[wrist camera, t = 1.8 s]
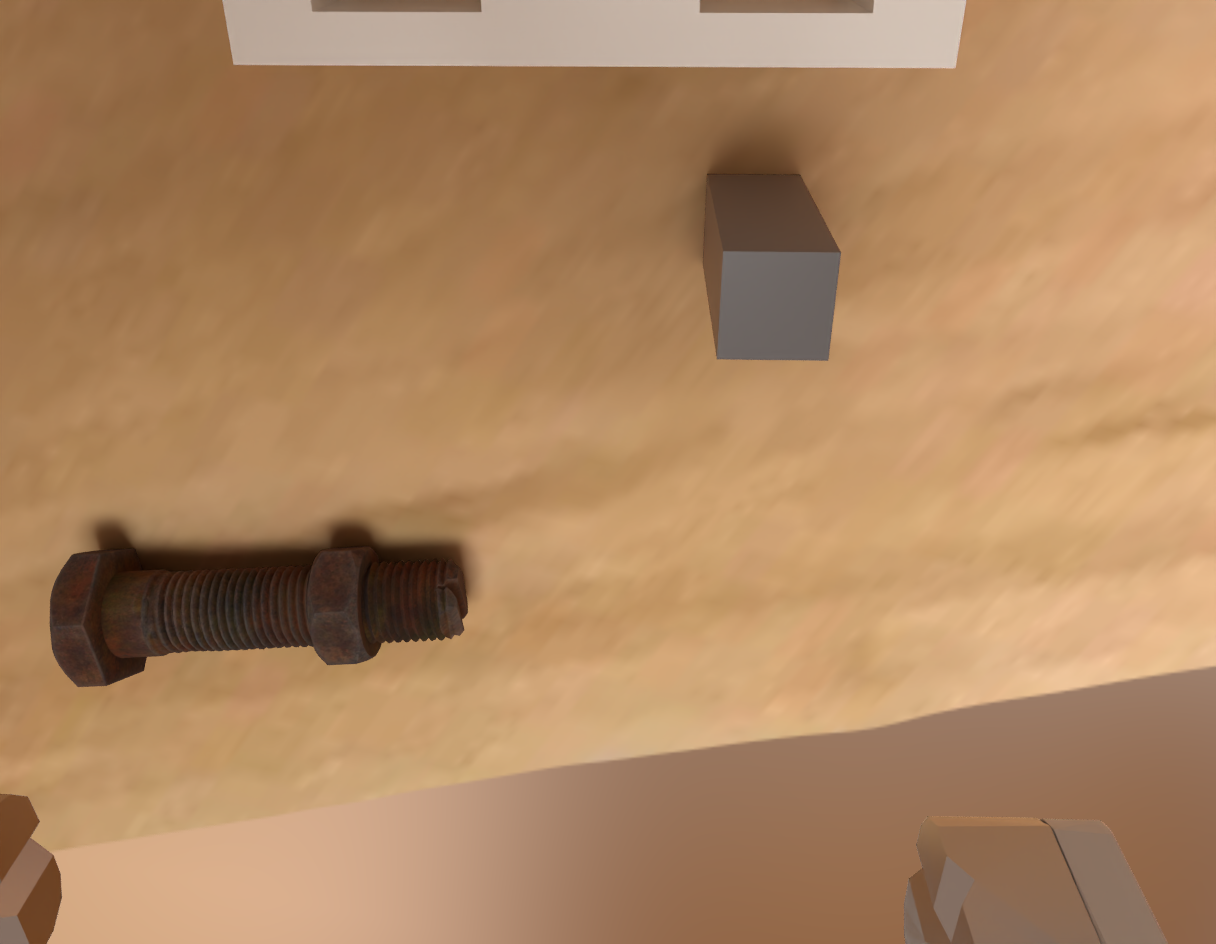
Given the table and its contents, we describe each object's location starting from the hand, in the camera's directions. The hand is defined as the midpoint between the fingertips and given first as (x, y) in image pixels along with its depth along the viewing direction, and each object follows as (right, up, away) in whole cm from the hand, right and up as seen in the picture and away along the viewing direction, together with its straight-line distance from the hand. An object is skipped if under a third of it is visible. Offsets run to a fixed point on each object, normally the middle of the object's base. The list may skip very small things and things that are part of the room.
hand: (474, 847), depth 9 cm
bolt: (-12, -1, +33) cm, 35 cm away
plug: (+6, +12, +24) cm, 28 cm away
